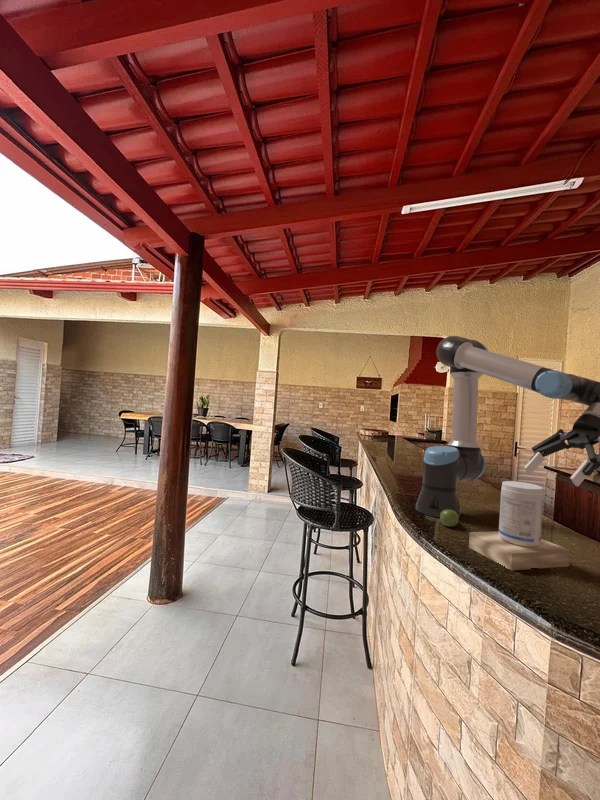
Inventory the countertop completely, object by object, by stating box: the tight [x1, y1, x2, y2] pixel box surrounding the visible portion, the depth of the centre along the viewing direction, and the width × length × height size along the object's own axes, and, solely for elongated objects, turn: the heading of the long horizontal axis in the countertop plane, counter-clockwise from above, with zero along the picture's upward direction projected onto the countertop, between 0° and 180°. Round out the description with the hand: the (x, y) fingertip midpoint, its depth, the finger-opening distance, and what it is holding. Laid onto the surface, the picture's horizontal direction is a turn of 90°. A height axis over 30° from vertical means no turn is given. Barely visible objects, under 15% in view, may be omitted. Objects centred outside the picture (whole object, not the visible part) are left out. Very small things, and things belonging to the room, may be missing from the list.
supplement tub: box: [498, 480, 544, 547], centre depth 97 cm, size 10×10×15 cm
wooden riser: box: [468, 530, 571, 571], centre depth 97 cm, size 14×18×4 cm
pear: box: [439, 509, 460, 528], centre depth 122 cm, size 6×5×10 cm
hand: (549, 476), depth 100 cm, fingers open, 13 cm apart
